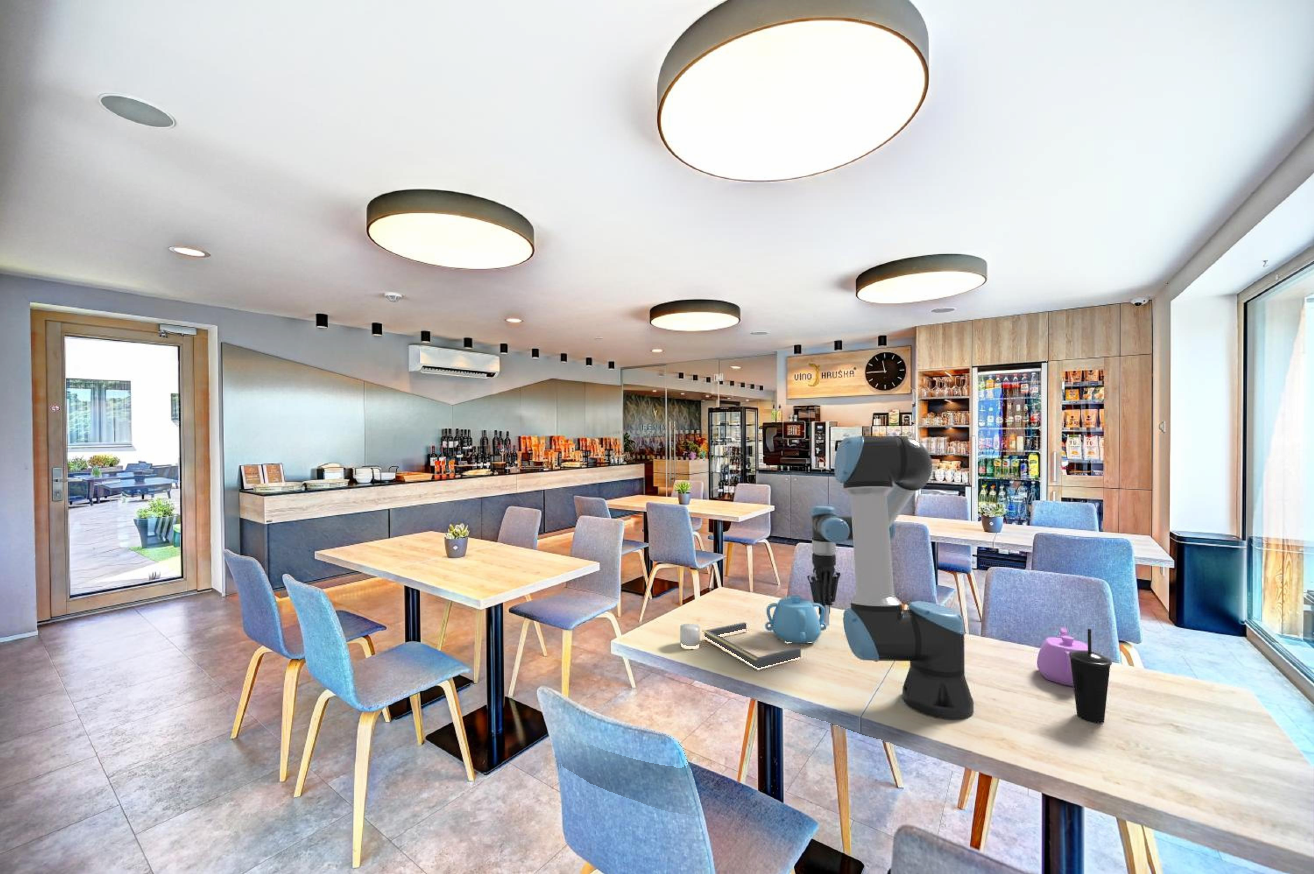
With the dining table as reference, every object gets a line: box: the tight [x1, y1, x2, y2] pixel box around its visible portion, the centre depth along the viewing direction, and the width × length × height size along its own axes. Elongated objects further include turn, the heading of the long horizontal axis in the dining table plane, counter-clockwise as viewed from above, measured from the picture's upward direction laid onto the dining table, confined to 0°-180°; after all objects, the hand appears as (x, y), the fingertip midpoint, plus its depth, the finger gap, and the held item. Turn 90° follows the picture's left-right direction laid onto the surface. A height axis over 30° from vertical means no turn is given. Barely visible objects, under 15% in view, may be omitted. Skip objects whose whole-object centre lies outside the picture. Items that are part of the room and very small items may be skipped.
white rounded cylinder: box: [679, 623, 701, 646], centre depth 167 cm, size 7×6×6 cm
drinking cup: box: [1069, 628, 1113, 724], centre depth 122 cm, size 8×8×20 cm
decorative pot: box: [764, 594, 828, 644], centre depth 172 cm, size 16×16×14 cm
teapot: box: [1036, 626, 1088, 687], centre depth 142 cm, size 13×20×11 cm
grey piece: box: [701, 622, 802, 668], centre depth 163 cm, size 26×17×3 cm, turn 29°
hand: (824, 624), depth 178 cm, fingers closed
